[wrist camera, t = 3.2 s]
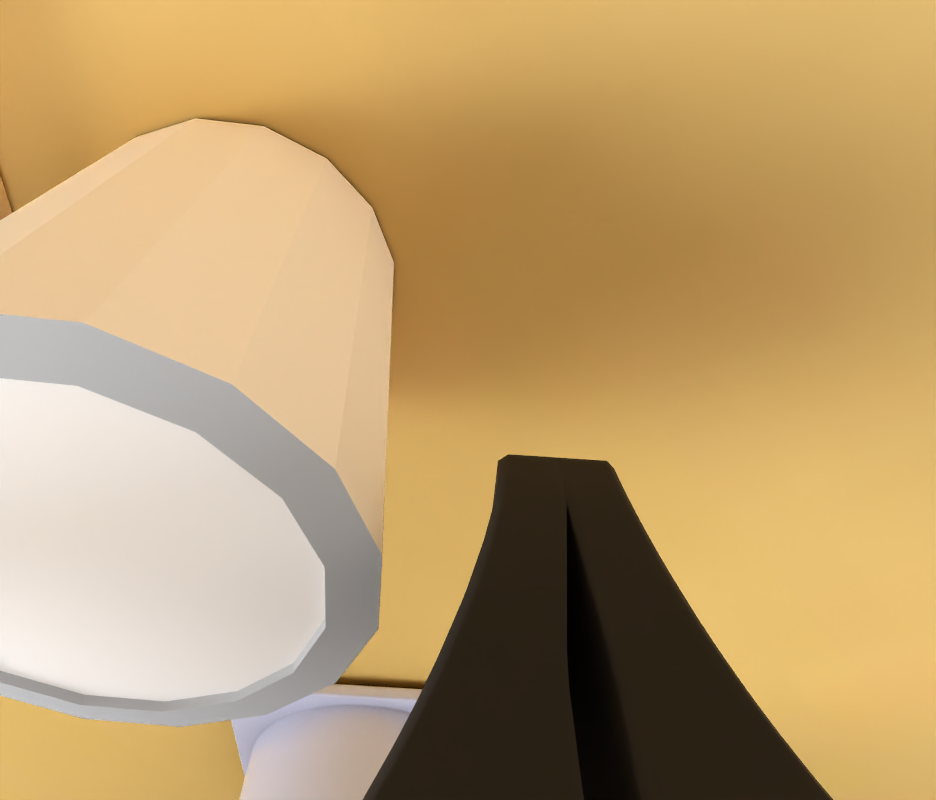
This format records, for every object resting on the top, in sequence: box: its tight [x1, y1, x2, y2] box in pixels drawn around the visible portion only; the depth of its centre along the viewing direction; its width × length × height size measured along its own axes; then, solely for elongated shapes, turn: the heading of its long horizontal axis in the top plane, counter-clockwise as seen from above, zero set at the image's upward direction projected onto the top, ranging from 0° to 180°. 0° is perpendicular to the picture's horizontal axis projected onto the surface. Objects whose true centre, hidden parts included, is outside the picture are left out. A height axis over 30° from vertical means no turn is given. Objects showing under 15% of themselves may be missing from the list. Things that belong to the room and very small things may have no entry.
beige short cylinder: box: [0, 118, 394, 727], centre depth 11 cm, size 7×7×7 cm
